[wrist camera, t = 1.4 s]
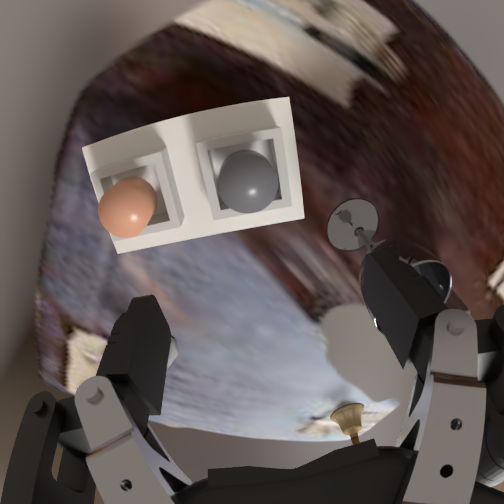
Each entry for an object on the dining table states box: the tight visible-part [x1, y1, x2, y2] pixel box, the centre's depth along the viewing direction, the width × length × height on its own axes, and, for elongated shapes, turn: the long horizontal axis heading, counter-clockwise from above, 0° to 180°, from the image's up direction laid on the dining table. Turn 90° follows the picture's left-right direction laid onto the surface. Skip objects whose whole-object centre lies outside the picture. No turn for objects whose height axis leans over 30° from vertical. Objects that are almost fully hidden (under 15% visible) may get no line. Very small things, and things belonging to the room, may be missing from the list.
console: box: [82, 97, 304, 254], centre depth 27 cm, size 20×12×6 cm, turn 99°
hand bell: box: [331, 404, 364, 445], centre depth 51 cm, size 8×8×16 cm
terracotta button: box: [98, 176, 157, 238], centre depth 22 cm, size 4×4×3 cm
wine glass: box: [327, 199, 452, 334], centre depth 27 cm, size 8×8×15 cm
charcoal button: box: [218, 150, 278, 213], centre depth 22 cm, size 4×4×3 cm
